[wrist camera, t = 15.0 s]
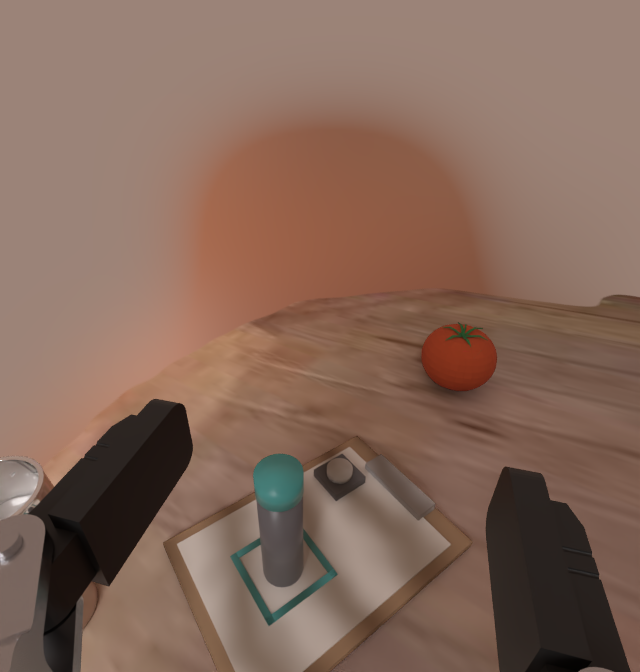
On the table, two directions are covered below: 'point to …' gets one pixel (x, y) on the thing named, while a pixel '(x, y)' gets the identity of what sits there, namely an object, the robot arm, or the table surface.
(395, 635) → the table surface
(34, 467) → the beer glass
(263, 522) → the marker
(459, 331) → the tomato
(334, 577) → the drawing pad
